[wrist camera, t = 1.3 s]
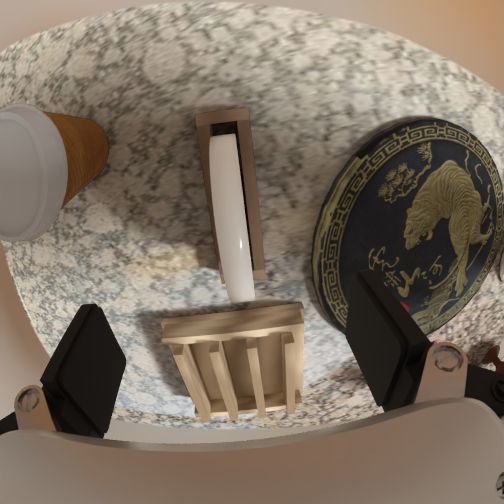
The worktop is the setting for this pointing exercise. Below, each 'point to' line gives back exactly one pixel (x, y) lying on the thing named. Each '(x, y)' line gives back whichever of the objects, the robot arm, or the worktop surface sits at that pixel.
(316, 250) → the decorative plate
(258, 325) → the dish rack
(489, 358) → the ice cream bowl
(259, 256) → the plate stand
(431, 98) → the worktop surface
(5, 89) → the worktop surface
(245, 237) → the side plate
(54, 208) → the disposable coffee cup
